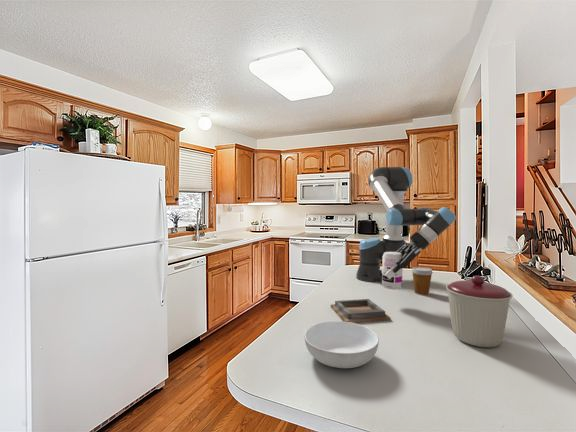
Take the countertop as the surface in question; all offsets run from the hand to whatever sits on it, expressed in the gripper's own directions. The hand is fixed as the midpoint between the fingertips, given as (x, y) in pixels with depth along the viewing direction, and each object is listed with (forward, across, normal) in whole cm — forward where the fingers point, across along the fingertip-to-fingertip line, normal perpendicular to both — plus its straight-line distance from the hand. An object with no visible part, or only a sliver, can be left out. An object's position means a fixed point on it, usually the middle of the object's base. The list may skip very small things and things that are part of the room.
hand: (384, 274), depth 130 cm
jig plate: (+18, -11, 0) cm, 21 cm away
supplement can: (+2, 0, -6) cm, 7 cm away
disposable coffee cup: (-6, +18, -26) cm, 32 cm away
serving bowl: (+26, -46, +8) cm, 54 cm away
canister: (-6, -33, -24) cm, 41 cm away
